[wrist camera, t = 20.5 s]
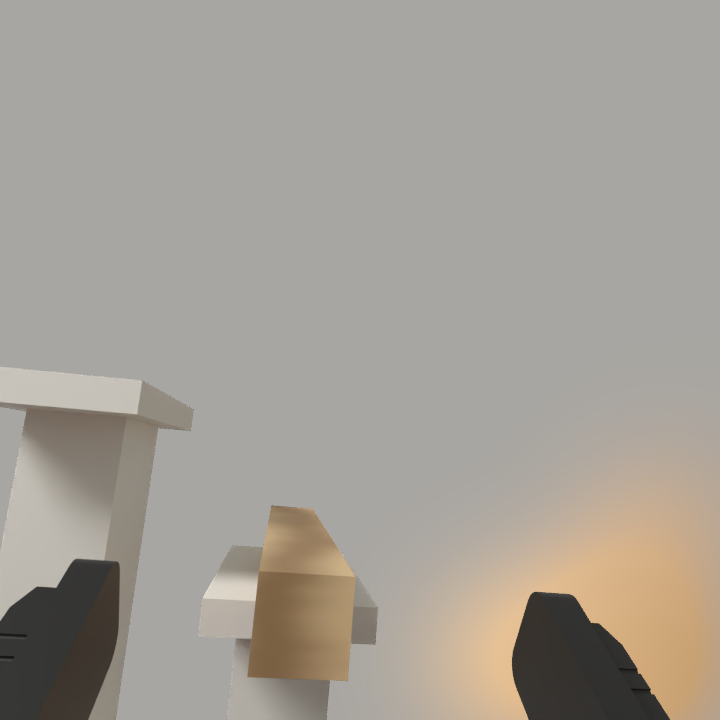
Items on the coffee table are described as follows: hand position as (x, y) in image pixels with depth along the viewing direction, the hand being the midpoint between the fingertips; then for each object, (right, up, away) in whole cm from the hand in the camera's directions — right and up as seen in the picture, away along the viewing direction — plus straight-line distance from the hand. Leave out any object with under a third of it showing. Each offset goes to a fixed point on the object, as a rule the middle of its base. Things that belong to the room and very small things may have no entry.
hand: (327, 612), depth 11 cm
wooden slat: (-3, -7, +18) cm, 20 cm away
